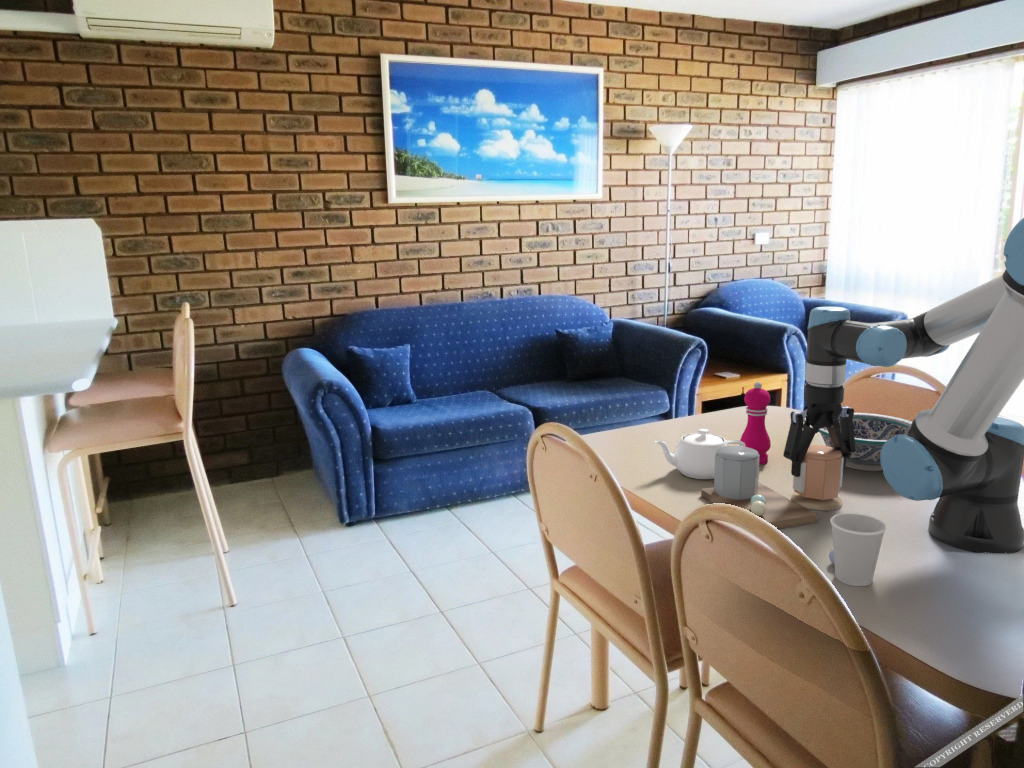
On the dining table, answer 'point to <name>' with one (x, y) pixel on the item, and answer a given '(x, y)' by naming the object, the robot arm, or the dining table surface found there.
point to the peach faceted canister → (822, 472)
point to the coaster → (817, 503)
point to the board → (769, 507)
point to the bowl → (870, 438)
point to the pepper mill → (757, 422)
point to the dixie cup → (856, 547)
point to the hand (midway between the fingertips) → (817, 487)
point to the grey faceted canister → (736, 472)
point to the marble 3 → (831, 556)
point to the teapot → (697, 453)
